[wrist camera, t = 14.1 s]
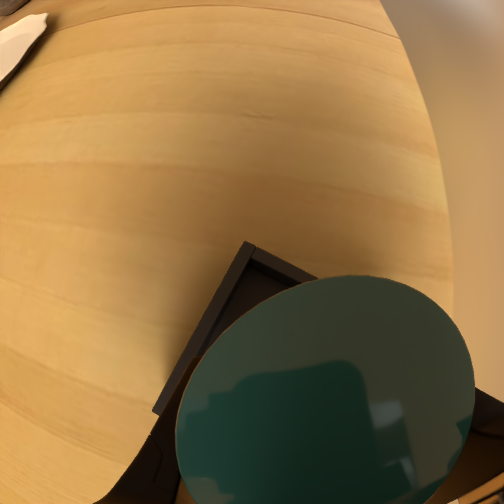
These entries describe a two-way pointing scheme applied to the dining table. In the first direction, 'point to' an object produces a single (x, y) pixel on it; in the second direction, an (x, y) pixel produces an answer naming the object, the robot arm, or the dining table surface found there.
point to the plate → (19, 44)
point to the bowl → (10, 6)
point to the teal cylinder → (328, 399)
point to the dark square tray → (235, 303)
